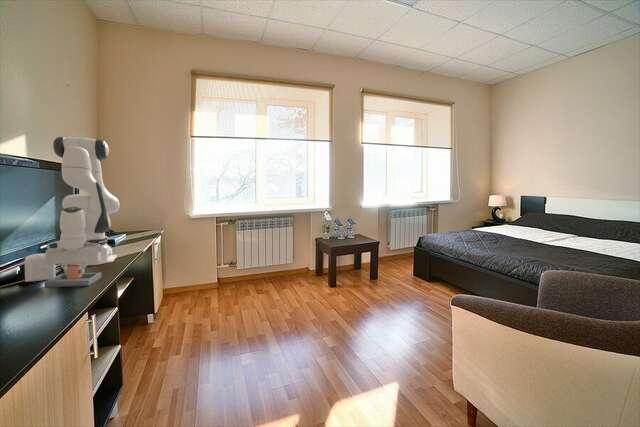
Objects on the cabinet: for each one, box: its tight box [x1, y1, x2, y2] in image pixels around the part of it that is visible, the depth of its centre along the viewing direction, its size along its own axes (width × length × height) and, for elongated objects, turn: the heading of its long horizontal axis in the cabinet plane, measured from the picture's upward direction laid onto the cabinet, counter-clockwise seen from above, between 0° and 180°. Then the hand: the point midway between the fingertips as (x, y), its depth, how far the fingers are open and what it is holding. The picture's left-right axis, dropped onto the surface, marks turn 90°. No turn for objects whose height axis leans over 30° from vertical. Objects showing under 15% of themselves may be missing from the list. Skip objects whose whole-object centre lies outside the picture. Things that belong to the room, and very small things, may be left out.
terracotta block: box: [66, 264, 83, 280], centre depth 129 cm, size 4×4×6 cm
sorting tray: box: [44, 272, 102, 289], centre depth 130 cm, size 12×16×2 cm
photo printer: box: [24, 253, 57, 283], centre depth 131 cm, size 10×4×12 cm, turn 124°
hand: (74, 273), depth 129 cm, fingers closed on terracotta block, 4 cm apart
